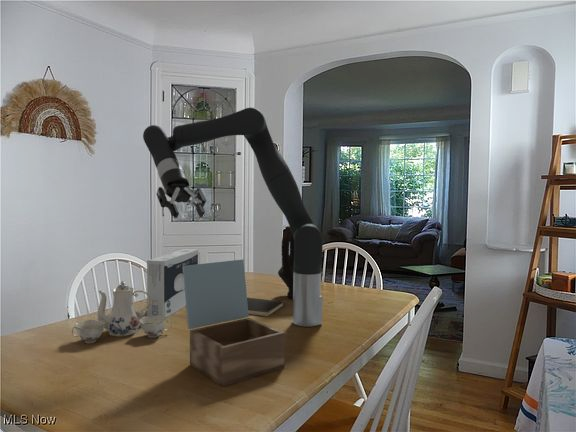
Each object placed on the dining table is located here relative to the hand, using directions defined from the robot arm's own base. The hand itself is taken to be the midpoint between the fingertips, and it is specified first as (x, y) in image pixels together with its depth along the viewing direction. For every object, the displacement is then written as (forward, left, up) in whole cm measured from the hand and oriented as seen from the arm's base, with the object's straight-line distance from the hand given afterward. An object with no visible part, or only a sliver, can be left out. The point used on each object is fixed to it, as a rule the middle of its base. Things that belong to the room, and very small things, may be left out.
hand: (189, 215), depth 133 cm
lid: (-8, +14, -20) cm, 25 cm away
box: (-13, +22, -37) cm, 45 cm away
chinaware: (+20, -7, -37) cm, 43 cm away
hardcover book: (-20, -34, -37) cm, 54 cm away
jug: (-42, -48, -37) cm, 73 cm away
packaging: (+7, -37, -37) cm, 53 cm away
